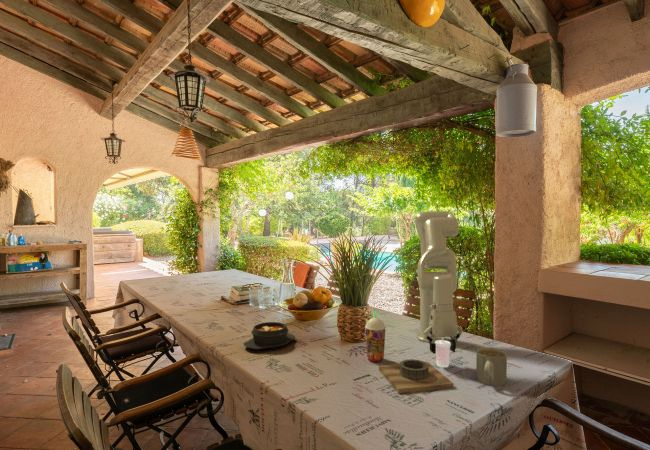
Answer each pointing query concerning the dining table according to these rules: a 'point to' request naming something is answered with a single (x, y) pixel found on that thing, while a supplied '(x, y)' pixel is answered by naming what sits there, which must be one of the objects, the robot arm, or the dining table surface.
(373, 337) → the smoothie
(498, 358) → the coffee mug
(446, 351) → the beverage cup
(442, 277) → the robot arm
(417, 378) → the socket board
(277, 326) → the casserole
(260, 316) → the dining table surface
